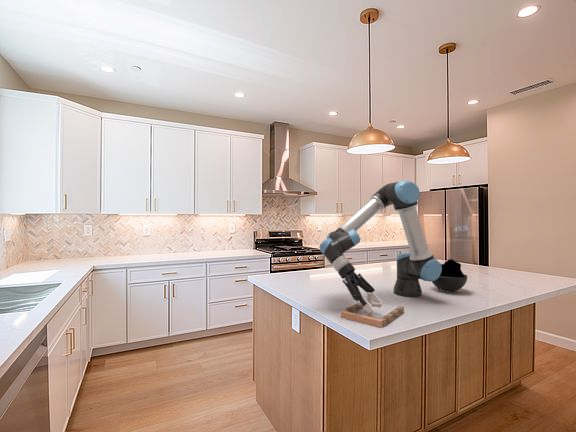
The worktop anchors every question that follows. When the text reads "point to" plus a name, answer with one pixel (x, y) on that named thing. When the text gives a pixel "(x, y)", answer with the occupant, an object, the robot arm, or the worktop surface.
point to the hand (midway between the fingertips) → (376, 308)
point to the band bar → (362, 319)
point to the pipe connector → (373, 304)
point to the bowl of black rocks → (450, 277)
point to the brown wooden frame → (386, 318)
